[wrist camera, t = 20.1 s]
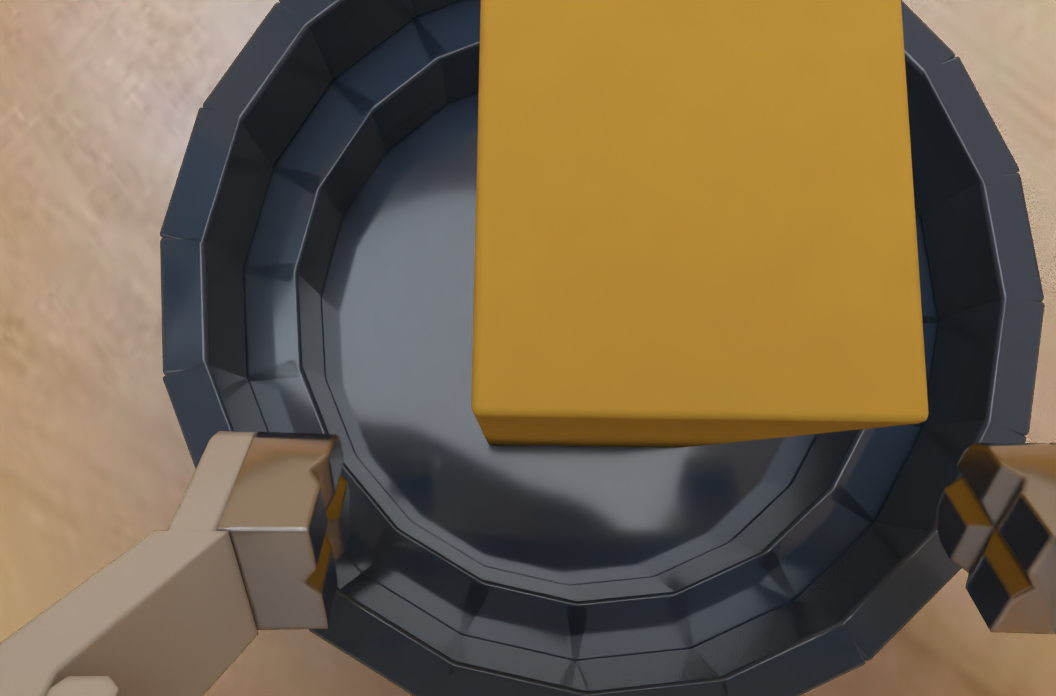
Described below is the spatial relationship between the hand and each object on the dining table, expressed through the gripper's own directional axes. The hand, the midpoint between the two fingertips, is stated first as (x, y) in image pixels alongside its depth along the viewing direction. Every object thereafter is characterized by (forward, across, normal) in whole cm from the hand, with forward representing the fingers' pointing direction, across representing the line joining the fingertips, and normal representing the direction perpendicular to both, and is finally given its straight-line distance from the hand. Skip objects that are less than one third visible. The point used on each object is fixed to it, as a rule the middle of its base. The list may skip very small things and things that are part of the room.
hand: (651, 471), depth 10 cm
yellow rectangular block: (+8, 0, +3) cm, 8 cm away
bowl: (+8, 0, +3) cm, 9 cm away
